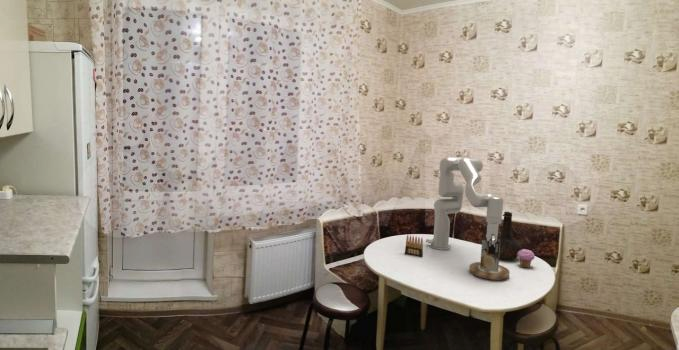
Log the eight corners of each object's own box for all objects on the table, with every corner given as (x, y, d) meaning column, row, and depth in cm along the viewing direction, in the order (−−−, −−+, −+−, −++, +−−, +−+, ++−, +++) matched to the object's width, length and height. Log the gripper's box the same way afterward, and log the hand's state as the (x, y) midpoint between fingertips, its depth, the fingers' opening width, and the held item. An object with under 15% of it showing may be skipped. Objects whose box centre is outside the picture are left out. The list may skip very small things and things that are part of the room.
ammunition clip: (404, 254, 242) (405, 234, 240) (405, 253, 244) (406, 234, 242) (421, 257, 237) (423, 237, 235) (422, 256, 238) (424, 237, 237)
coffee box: (498, 268, 215) (501, 239, 212) (497, 272, 209) (500, 242, 207) (480, 265, 218) (483, 236, 216) (479, 268, 213) (481, 239, 210)
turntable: (469, 276, 208) (469, 272, 207) (469, 263, 226) (469, 259, 226) (510, 282, 201) (511, 278, 201) (507, 268, 220) (508, 264, 220)
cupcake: (516, 267, 225) (518, 250, 224) (516, 262, 233) (517, 246, 232) (534, 270, 222) (535, 253, 221) (532, 265, 230) (534, 248, 229)
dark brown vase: (517, 254, 248) (522, 210, 244) (522, 264, 231) (527, 217, 227) (487, 251, 253) (491, 207, 249) (490, 260, 236) (494, 214, 232)
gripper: (485, 215, 219) (483, 245, 222) (486, 222, 203) (483, 255, 205) (500, 216, 217) (497, 247, 219) (502, 224, 201) (499, 257, 203)
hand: (490, 250), depth 212 cm, fingers open, 9 cm apart
